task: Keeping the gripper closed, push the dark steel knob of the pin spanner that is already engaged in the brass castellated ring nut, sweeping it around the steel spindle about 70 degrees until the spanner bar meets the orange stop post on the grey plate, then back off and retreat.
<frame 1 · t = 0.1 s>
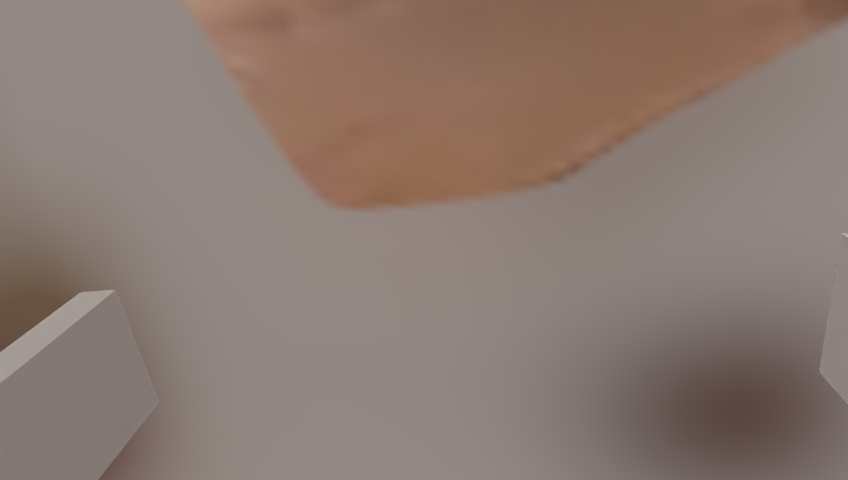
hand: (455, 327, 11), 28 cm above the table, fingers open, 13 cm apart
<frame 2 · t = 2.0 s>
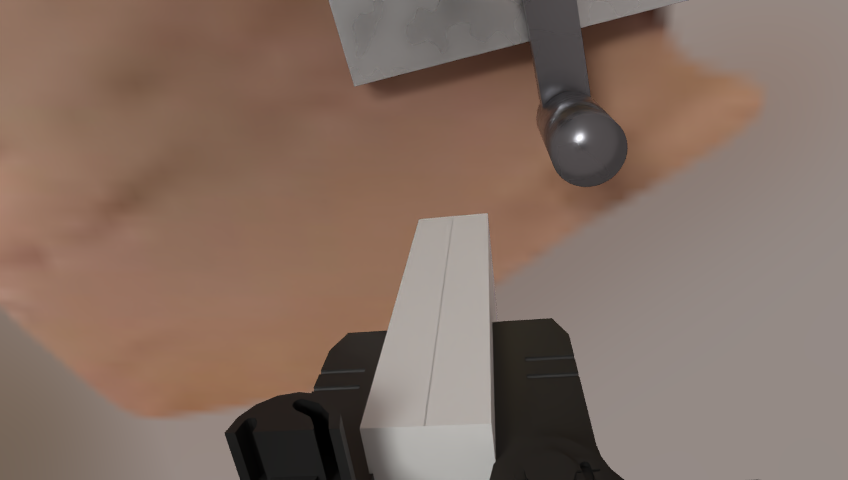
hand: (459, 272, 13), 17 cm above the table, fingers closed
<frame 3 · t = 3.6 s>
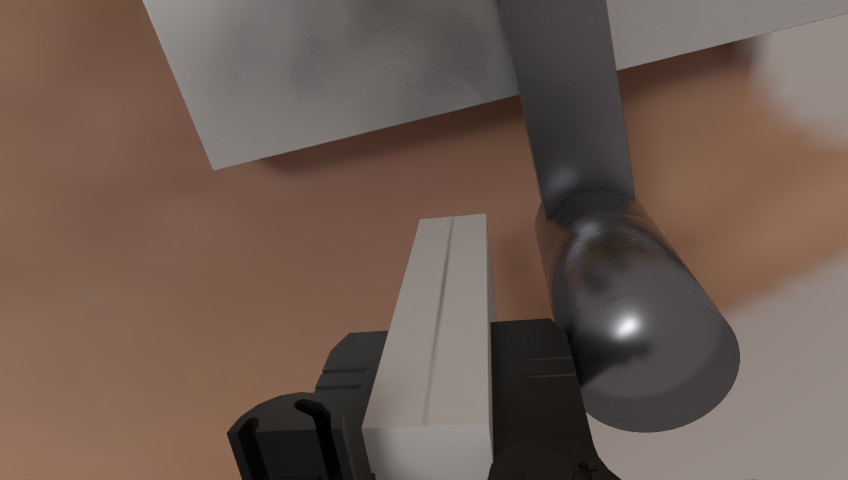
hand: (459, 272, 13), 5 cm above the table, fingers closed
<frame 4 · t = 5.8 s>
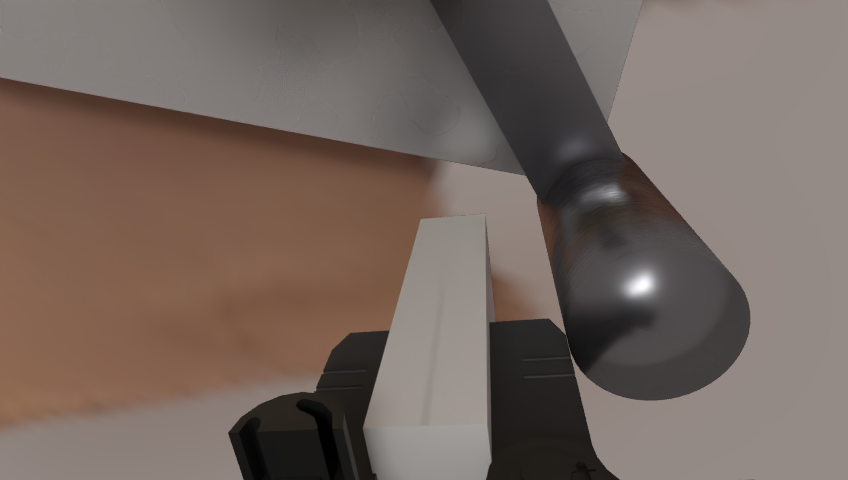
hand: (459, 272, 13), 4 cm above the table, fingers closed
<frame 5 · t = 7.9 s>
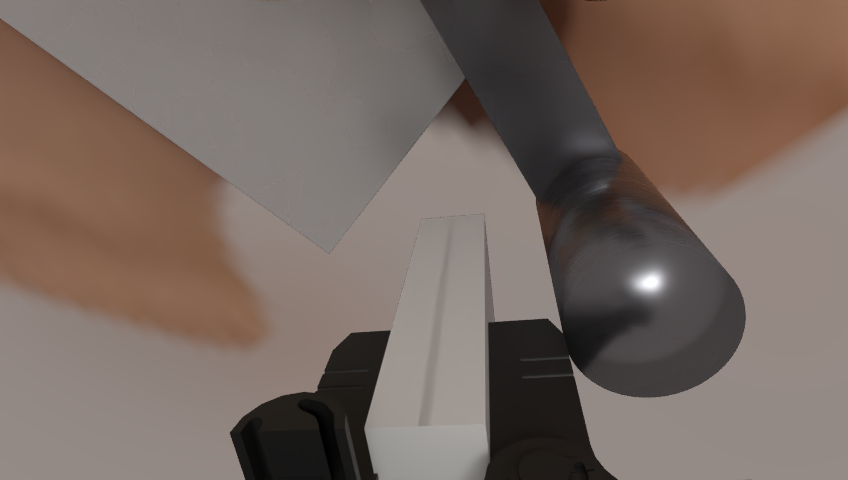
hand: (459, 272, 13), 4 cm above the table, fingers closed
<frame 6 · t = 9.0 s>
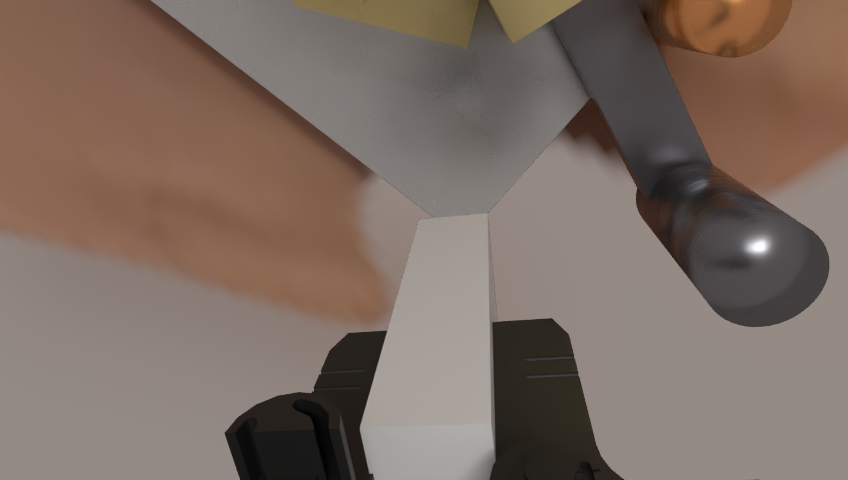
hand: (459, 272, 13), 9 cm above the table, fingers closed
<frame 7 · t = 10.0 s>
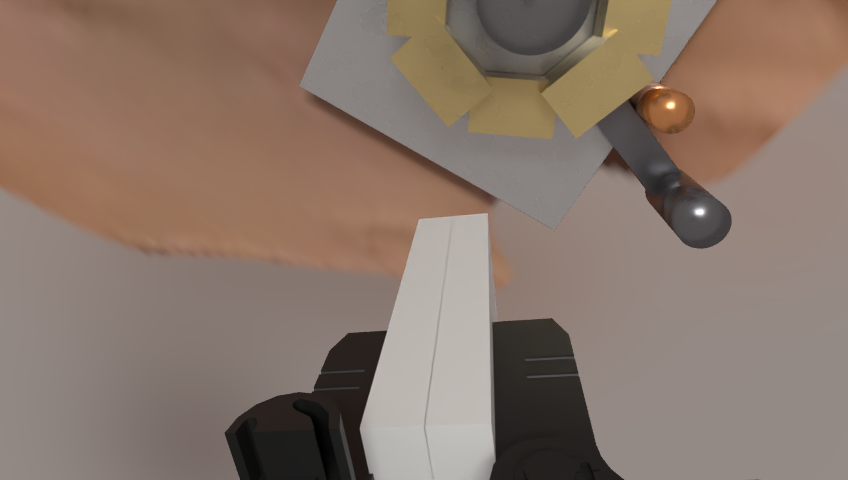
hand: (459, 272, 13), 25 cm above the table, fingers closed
ring nut: (578, 64, 29), point 5 cm above the table, hinge at 70.0°, touching cap plate
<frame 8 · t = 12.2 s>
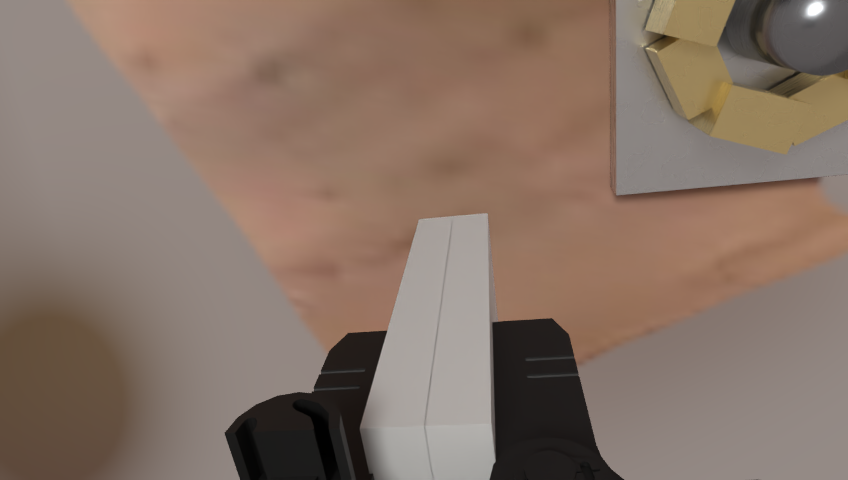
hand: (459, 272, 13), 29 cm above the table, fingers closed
cap plate: (755, 16, 36), on the table
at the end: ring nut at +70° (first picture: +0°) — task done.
